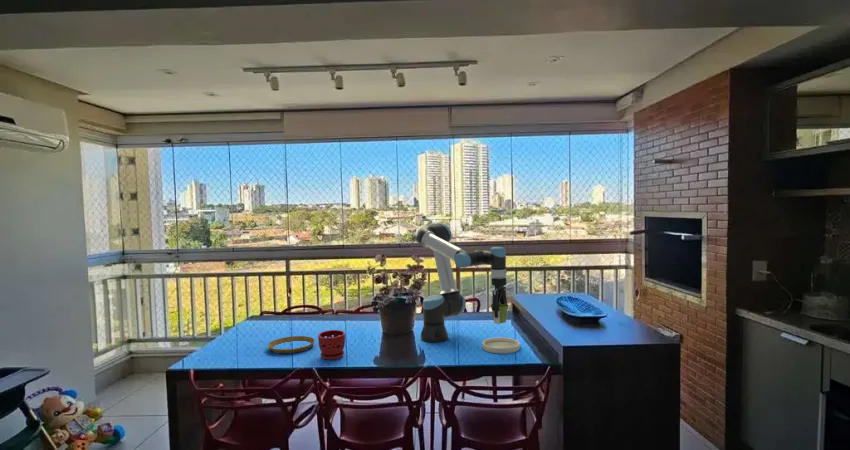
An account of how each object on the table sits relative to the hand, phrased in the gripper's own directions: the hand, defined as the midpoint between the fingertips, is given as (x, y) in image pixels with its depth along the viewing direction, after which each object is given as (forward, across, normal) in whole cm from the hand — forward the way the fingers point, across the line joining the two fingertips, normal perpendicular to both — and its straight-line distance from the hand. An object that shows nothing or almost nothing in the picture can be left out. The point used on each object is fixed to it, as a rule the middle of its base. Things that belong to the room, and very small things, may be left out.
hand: (500, 321), depth 226 cm
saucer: (+13, 0, 0) cm, 13 cm away
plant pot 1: (+14, -47, +71) cm, 86 cm away
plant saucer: (+14, -44, +102) cm, 112 cm away
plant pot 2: (0, 0, 0) cm, 0 cm away
